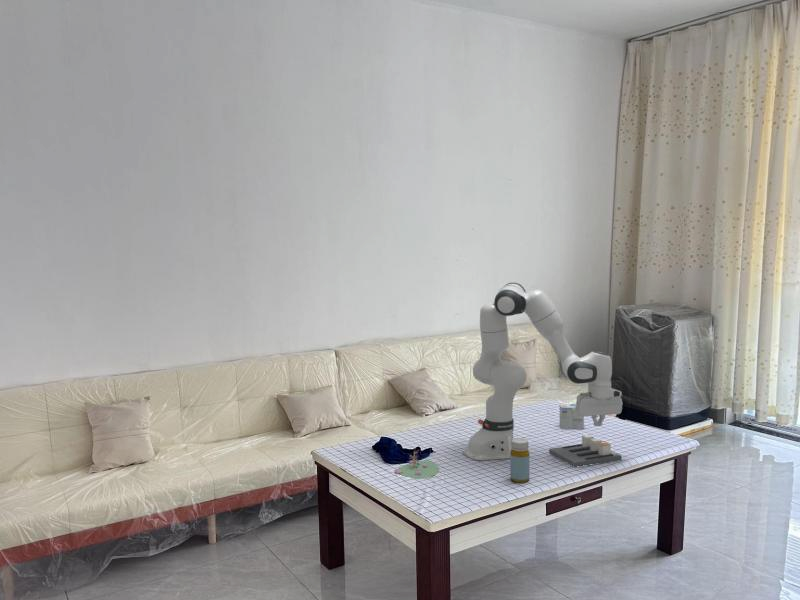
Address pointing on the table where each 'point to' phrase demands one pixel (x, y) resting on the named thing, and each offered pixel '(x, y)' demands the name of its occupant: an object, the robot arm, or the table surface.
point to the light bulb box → (570, 417)
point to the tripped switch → (604, 448)
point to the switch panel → (583, 453)
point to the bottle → (519, 460)
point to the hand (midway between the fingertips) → (597, 425)
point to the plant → (418, 469)
